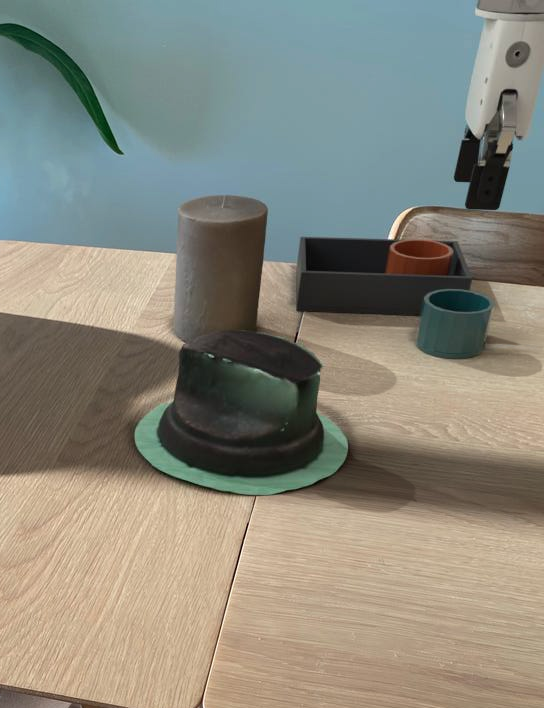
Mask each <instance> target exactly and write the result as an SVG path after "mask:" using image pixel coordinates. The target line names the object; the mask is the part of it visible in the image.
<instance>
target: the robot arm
mask: <svg viewBox="0 0 544 708" xmlns="http://www.w3.org/2000/svg"><path fill="white" fill-rule="evenodd" d="M474 15H475V16H476V17H481V18H483V19H484V22H483V26H482V27H483V28H482V31H481V32H480V33H481V34H480V39H479V42H478V43H479V44H478V47H477V52H476V56H475V61H474V65H473V69H472V73H471V79H470V84H469V89H468V92H467V93H468V94H467V98H466V100H467V101H466V104H465V111H464V118H465V122H466V126H465V128H464V132H463V139H461V142H460V146H459V151H458V156H457V161H456V163H455V164H456V165H455V169H454V173H453V174H454V175H453V180H454V182H456V183H468V189H467V194H466V196H465V201H464V206H465V209H467V210H473V211H475V210H477V211H497V210H499V208H500V206H501V202H502V198H503V195H504V191H505V187H506V183H507V179H508V175H509V171H510V165H511V161H512V154H513V149H514V137H515V138H516V139H517V141H523V140H525V139H526V138H527V137H528V136H529V135H530V131H531V127H532V122H533V117H534V112H535V107H536V104H537V99H538V94H539V89H540V85H541V82H542V81H541V80H542V77H543V72H544V0H477V1H476V5H475V10H474Z"/></svg>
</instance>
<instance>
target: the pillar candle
mask: <svg viewBox="0 0 544 708" xmlns="http://www.w3.org/2000/svg"><path fill="white" fill-rule="evenodd" d="M177 211H178V212H177V236H176V237H177V238H176V261H175V280H174V281H175V282H174V305H173V306H174V308H173V331H174V334H175V335H176V337H177V338H178V339H179V340H181V341H182V342H185V343H187V342H188V341H190V340H192V339H194V338H197V337H200V336H202V335H206V334H210V333H213V332H216V331H225V330H245V331H252V332H258V327H257V322H258V313H259V303H260V294H261V286H262V285H261V284H262V274H263V267H264V257H265V247H266V238H267V237H266V235H267V224H268V214H269V213H268V212H269V209H268V206H267V204H266V203H265V202H262V200H261V201H260V200H259V199H256V198H253V197H249V196H241V195H233V194H232V195H231V194H219V195H218V194H217V195H216V194H215V195H206V196H200V197H199V196H198V197H194V198H190V199H188V200H186V201H183V203H181V204H179V205H178V207H177Z"/></svg>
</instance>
